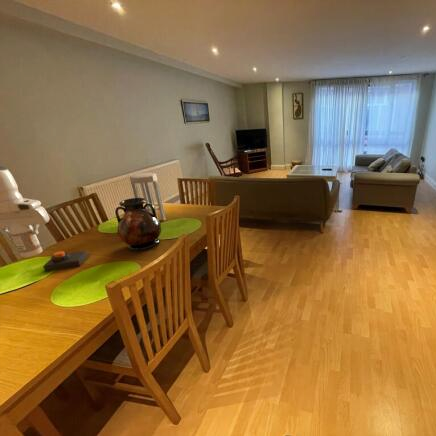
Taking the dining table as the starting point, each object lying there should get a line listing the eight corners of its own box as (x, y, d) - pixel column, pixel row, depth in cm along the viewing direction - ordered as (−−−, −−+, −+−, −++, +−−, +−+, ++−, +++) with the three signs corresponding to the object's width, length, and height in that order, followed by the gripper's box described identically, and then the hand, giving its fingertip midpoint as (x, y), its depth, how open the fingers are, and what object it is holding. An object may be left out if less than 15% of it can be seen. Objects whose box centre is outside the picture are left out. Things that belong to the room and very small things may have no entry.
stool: (150, 218, 184) (139, 172, 170) (170, 218, 183) (160, 172, 170) (137, 226, 169) (124, 177, 156) (158, 226, 169) (147, 177, 155)
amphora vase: (165, 234, 156) (156, 193, 146) (163, 250, 138) (152, 203, 127) (127, 240, 148) (114, 197, 138) (119, 257, 130) (103, 209, 119)
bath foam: (37, 256, 106) (18, 214, 98) (17, 259, 103) (-5, 216, 96) (46, 249, 112) (28, 208, 104) (27, 251, 109) (7, 210, 102)
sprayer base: (45, 271, 118) (41, 263, 116) (56, 260, 128) (53, 252, 126) (80, 266, 123) (76, 257, 121) (88, 255, 132) (85, 247, 130)
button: (53, 258, 120) (51, 255, 120) (57, 255, 124) (55, 251, 123) (63, 257, 122) (61, 253, 121) (66, 253, 125) (65, 250, 124)
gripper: (-31, 210, 93) (-14, 242, 98) (36, 204, 99) (49, 234, 104) (-19, 206, 98) (-3, 236, 103) (44, 200, 105) (56, 229, 110)
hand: (24, 235), depth 104 cm, fingers closed on bath foam, 7 cm apart
